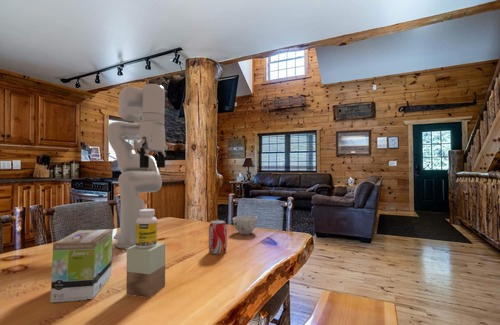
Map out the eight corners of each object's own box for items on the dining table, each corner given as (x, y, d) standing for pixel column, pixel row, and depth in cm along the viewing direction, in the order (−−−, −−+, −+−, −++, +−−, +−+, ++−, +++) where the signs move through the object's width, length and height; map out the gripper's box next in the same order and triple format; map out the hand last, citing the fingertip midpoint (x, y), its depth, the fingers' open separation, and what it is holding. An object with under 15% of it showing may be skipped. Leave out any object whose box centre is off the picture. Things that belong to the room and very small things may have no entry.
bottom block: (126, 294, 70) (126, 271, 70) (143, 283, 76) (143, 262, 76) (149, 298, 68) (149, 274, 68) (165, 286, 75) (165, 264, 75)
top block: (126, 271, 70) (126, 248, 70) (143, 262, 76) (143, 241, 77) (149, 274, 68) (149, 250, 68) (165, 264, 75) (165, 243, 75)
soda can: (223, 255, 100) (223, 223, 100) (205, 254, 102) (206, 223, 102) (228, 250, 107) (229, 220, 107) (212, 248, 108) (212, 219, 109)
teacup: (229, 231, 138) (229, 216, 138) (251, 229, 143) (251, 214, 143) (239, 238, 124) (239, 221, 124) (263, 236, 129) (263, 219, 129)
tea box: (94, 300, 67) (95, 240, 67) (49, 304, 65) (50, 243, 65) (112, 276, 81) (113, 227, 82) (75, 278, 79) (76, 229, 80)
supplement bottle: (136, 250, 69) (136, 211, 69) (134, 244, 73) (135, 209, 74) (158, 247, 71) (158, 210, 71) (155, 242, 76) (155, 207, 76)
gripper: (158, 123, 104) (157, 167, 104) (127, 115, 88) (127, 167, 88) (175, 123, 103) (175, 167, 102) (147, 114, 86) (146, 167, 86)
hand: (152, 167), depth 95 cm, fingers open, 9 cm apart
